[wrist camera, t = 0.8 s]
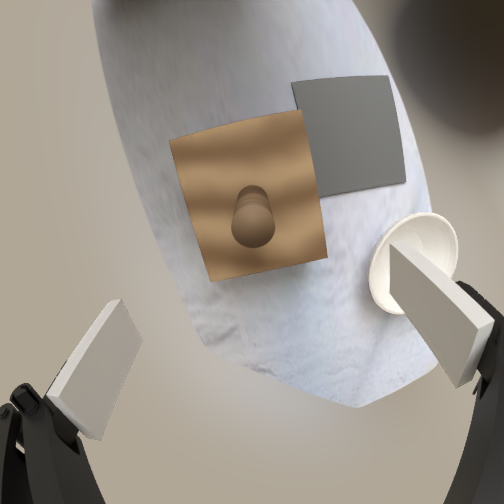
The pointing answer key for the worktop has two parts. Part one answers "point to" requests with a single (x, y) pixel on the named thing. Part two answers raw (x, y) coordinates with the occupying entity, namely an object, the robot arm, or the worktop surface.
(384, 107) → the mat
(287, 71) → the worktop surface
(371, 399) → the worktop surface
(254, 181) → the wooden block with knob
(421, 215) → the bowl
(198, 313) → the worktop surface
